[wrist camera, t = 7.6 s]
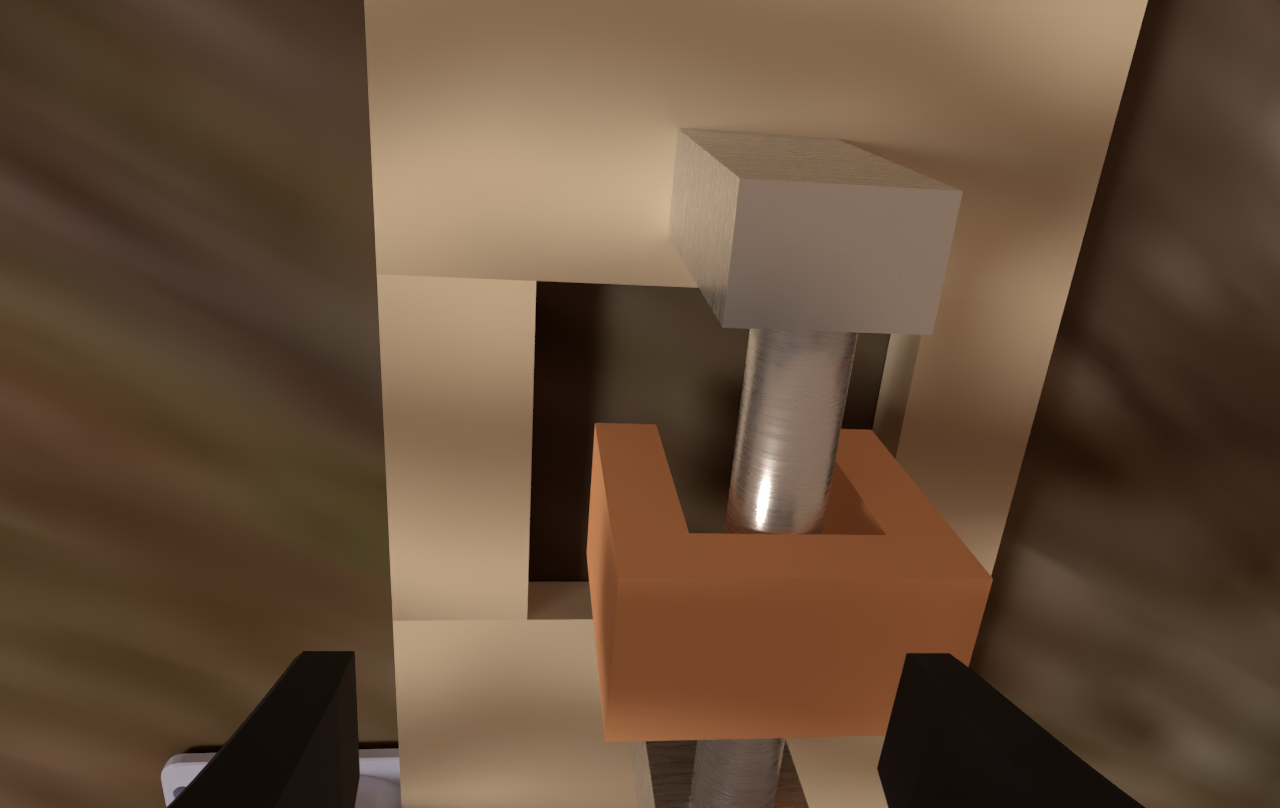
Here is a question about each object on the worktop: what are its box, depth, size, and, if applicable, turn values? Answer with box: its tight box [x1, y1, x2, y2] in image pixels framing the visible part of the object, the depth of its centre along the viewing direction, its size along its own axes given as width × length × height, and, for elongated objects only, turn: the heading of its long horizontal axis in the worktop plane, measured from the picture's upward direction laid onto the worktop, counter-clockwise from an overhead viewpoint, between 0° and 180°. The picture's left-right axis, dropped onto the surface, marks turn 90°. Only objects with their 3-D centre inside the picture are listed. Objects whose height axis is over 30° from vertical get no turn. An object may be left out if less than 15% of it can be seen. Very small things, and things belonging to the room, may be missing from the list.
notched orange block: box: [587, 423, 993, 742], centre depth 16 cm, size 3×6×5 cm, turn 85°
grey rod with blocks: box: [630, 128, 963, 808], centre depth 17 cm, size 14×3×6 cm, turn 176°
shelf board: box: [364, 0, 1148, 808], centre depth 20 cm, size 24×14×2 cm, turn 176°
